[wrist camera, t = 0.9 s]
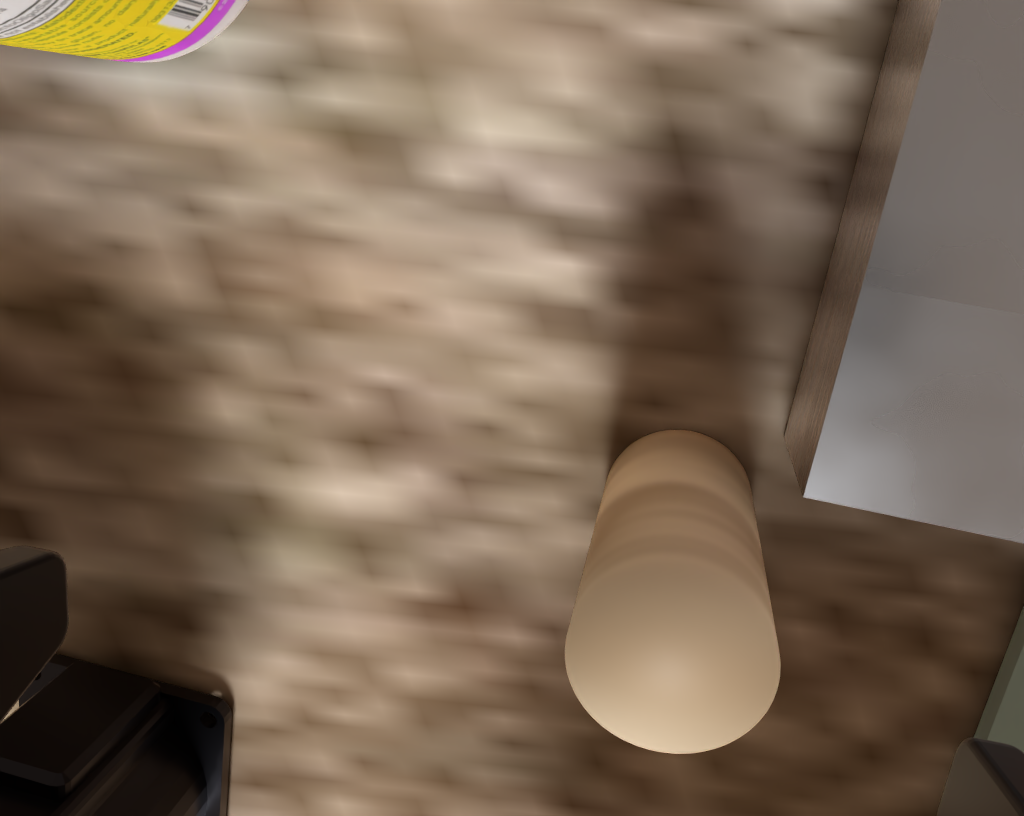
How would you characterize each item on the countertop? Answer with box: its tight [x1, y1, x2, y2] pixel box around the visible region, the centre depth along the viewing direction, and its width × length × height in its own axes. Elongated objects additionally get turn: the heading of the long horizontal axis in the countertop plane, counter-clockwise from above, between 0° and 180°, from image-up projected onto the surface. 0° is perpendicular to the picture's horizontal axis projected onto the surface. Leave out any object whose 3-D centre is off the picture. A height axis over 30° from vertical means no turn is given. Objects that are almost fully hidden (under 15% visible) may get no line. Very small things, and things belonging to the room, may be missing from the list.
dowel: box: [565, 430, 781, 754], centre depth 17 cm, size 3×3×7 cm
